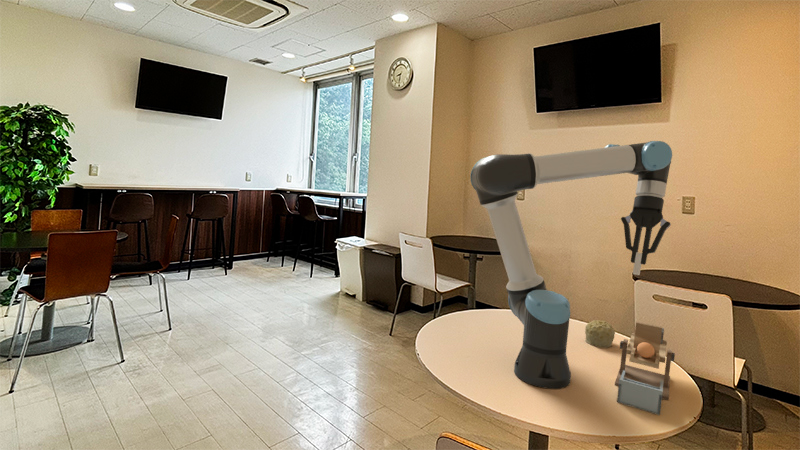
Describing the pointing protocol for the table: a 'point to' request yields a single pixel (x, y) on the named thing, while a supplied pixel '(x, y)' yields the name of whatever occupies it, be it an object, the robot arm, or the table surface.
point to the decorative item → (599, 333)
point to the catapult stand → (646, 372)
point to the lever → (652, 337)
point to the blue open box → (640, 395)
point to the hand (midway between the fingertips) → (636, 274)
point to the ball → (645, 350)
